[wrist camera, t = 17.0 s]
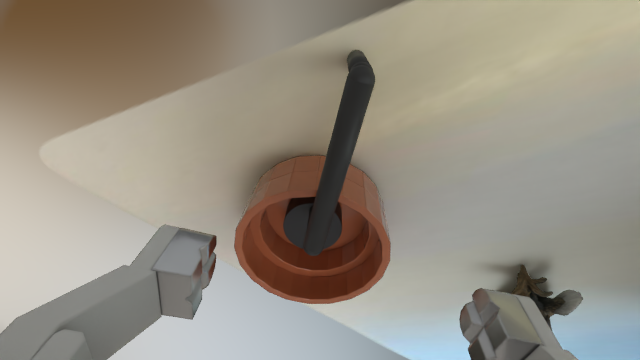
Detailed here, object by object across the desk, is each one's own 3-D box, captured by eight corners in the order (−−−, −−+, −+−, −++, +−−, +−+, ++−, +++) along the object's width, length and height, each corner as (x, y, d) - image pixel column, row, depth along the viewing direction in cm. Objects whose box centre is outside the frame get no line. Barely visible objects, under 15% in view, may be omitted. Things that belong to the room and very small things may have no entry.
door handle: (334, 239, 28) (332, 302, 22) (282, 228, 28) (267, 288, 22) (393, 58, 21) (415, 78, 15) (323, 40, 20) (316, 53, 14)
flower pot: (401, 169, 25) (414, 211, 20) (361, 266, 31) (364, 315, 26) (260, 137, 24) (240, 173, 20) (247, 242, 30) (230, 288, 26)
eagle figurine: (463, 284, 30) (480, 350, 33) (539, 328, 23) (553, 406, 26) (515, 245, 32) (528, 310, 35) (598, 274, 26) (605, 352, 28)
